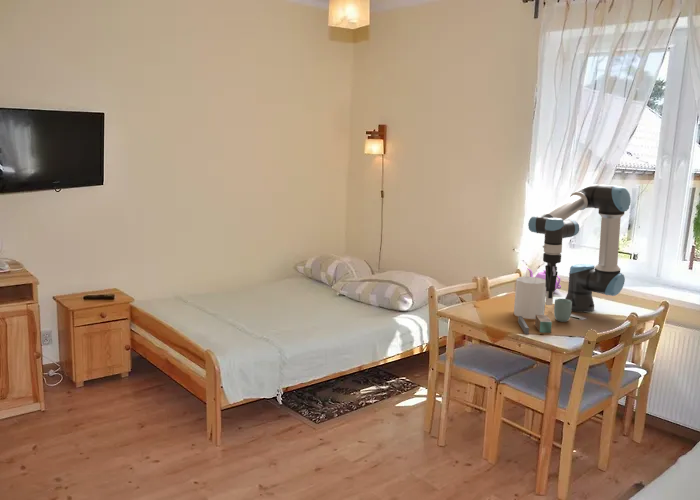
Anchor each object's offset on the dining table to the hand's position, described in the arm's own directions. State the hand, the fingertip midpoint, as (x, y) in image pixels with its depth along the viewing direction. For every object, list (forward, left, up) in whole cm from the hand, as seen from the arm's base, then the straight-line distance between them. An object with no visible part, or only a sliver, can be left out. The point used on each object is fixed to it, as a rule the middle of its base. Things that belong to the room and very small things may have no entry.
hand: (548, 304), depth 275 cm
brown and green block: (0, -1, -11) cm, 11 cm away
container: (+2, -29, -14) cm, 32 cm away
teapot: (-15, -77, -14) cm, 79 cm away
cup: (-12, -21, -14) cm, 28 cm away
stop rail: (+9, -7, -14) cm, 18 cm away
